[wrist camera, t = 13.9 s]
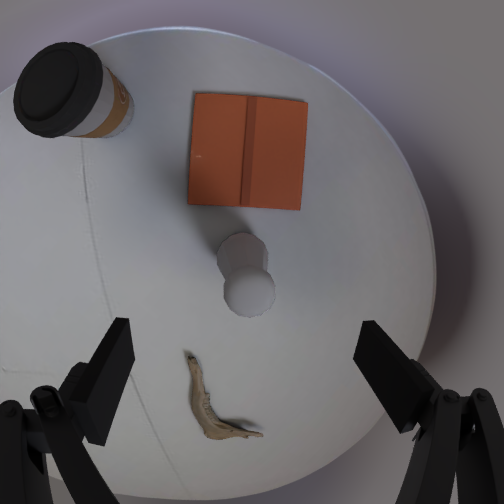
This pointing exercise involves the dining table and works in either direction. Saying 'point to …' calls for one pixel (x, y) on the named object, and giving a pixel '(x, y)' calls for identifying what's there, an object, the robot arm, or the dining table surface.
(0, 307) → the dining table surface
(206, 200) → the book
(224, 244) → the salt shaker
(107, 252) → the dining table surface
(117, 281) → the dining table surface
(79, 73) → the coffee cup
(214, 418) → the curved driftwood piece
